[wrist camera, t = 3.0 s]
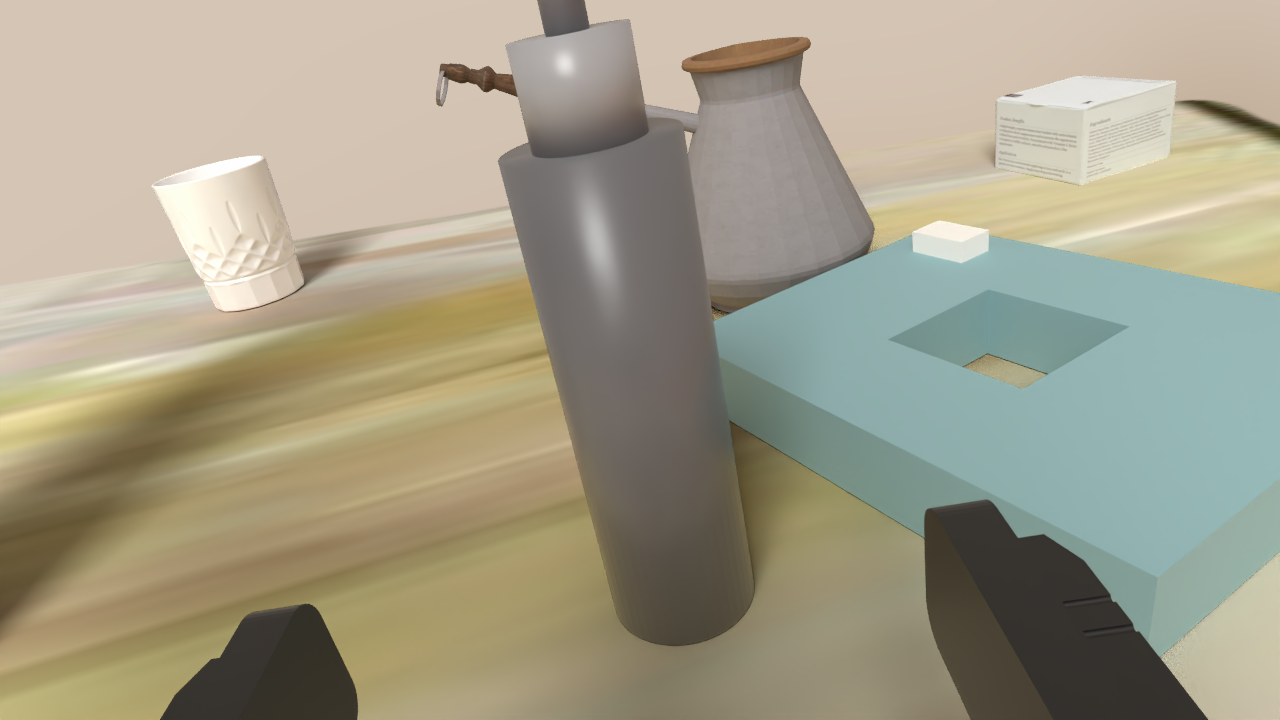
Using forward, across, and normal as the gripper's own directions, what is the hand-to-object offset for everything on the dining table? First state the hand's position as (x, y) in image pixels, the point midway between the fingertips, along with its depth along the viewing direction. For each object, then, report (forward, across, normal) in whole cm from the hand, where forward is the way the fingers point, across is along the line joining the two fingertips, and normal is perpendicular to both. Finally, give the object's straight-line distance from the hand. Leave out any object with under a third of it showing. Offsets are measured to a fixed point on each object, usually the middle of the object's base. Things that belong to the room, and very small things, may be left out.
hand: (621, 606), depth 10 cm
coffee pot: (+34, -2, +10) cm, 35 cm away
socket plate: (+18, -13, +10) cm, 25 cm away
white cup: (+51, +31, +10) cm, 60 cm away
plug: (+11, 0, +10) cm, 15 cm away
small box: (+47, -30, +10) cm, 57 cm away
